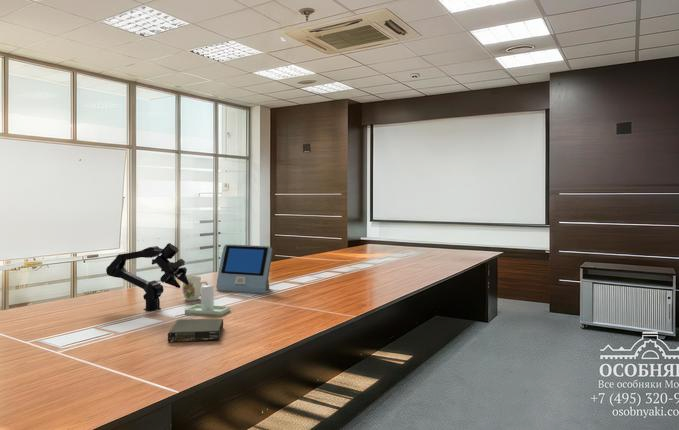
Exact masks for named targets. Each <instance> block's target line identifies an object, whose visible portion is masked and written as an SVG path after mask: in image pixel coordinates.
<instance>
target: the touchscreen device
mask: <svg viewBox="0 0 679 430" xmlns="http://www.w3.org/2000/svg"><path fill="white" fill-rule="evenodd" d="M273 251H274V249H273V248H272V247H271V246H269V245H252V244H250V245H248V244H247V245H246V244H228V243H227V244H224V246H223V249H222V254H221V258H220V263H219V267H218V268H219V269H218V273H217V278H216V286H215V287H216V290H217V291H218V292H219V291H221V292H229V291H230V293H231V292H232V293H241V294H242V293H247V294H254V295H255V294H257V295H258V294H260V295H266V293H267V290H269V289H270V282H269V276H270V271H271V270H270V269H271V263H272V257H273Z"/></svg>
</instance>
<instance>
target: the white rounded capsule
mask: <svg viewBox="0 0 679 430" xmlns="http://www.w3.org/2000/svg"><path fill="white" fill-rule="evenodd" d="M214 297H215V295H214V285H212V284H211V285H210V284H208V285H206V284H205V285H201V296H200V305H201V310H208V311H214V305H215V304H214V303H215V300H214Z"/></svg>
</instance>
